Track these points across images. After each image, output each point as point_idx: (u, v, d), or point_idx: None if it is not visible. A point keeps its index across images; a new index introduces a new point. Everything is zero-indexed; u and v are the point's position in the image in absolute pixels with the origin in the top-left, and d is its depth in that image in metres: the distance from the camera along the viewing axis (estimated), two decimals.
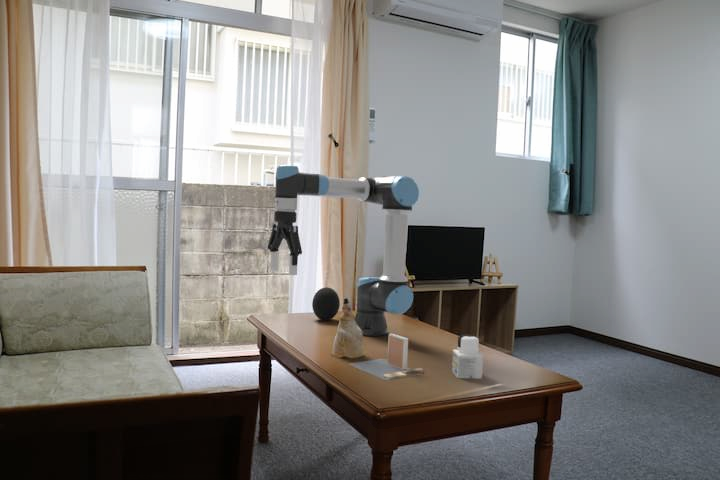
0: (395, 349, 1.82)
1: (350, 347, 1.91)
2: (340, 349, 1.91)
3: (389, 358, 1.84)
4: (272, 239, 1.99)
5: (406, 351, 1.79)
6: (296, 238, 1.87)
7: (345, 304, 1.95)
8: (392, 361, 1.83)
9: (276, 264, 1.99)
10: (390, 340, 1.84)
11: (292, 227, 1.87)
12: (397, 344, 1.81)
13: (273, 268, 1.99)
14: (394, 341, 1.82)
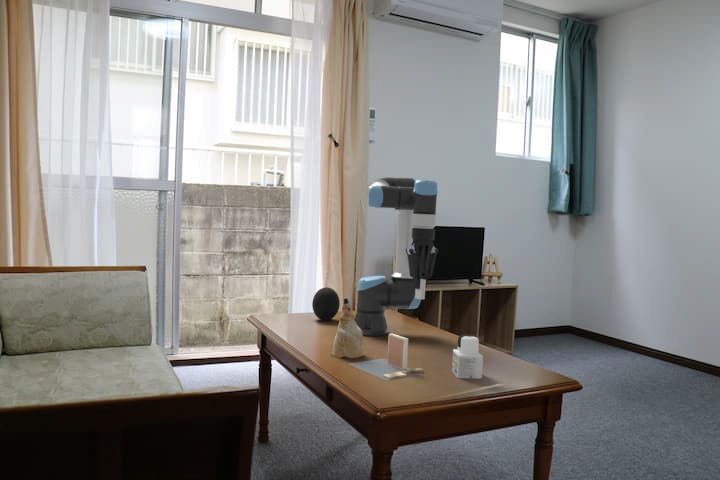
0: (395, 349, 1.82)
1: (350, 347, 1.91)
2: (340, 349, 1.91)
3: (389, 358, 1.84)
4: None
5: (406, 351, 1.79)
6: (410, 262, 1.83)
7: (345, 304, 1.95)
8: (392, 361, 1.83)
9: None
10: (390, 340, 1.84)
11: (406, 250, 1.83)
12: (397, 344, 1.81)
13: None
14: (394, 341, 1.82)
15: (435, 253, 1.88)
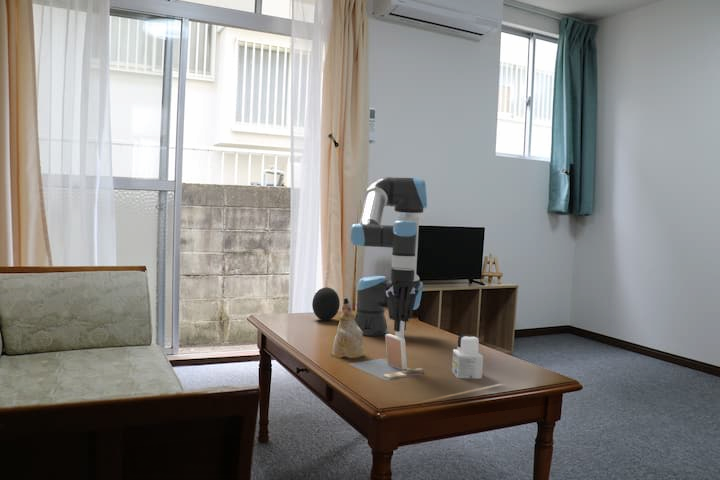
0: (393, 349, 1.81)
1: (350, 347, 1.91)
2: (340, 349, 1.91)
3: (388, 358, 1.84)
4: None
5: (404, 351, 1.79)
6: (389, 304, 1.79)
7: (345, 304, 1.95)
8: (392, 361, 1.83)
9: None
10: (387, 341, 1.83)
11: (385, 293, 1.79)
12: (394, 345, 1.80)
13: None
14: (391, 342, 1.82)
15: (415, 294, 1.84)
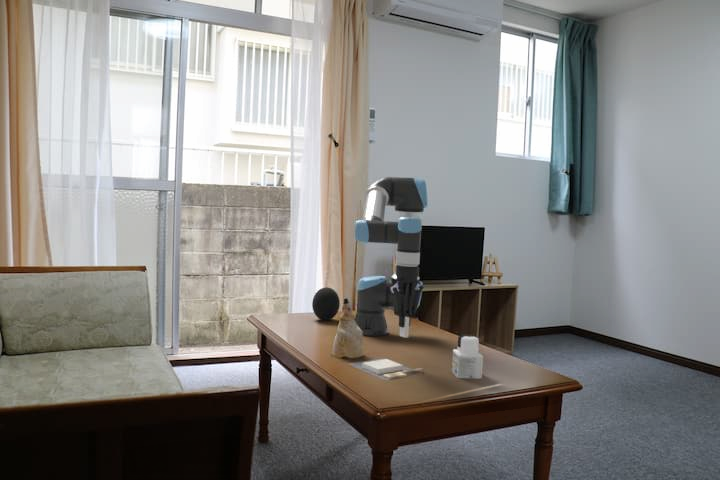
0: None
1: (350, 347, 1.91)
2: (340, 349, 1.91)
3: None
4: None
5: (388, 369, 1.75)
6: (394, 300, 1.80)
7: (345, 304, 1.95)
8: None
9: None
10: None
11: (390, 289, 1.80)
12: None
13: None
14: None
15: (419, 290, 1.85)
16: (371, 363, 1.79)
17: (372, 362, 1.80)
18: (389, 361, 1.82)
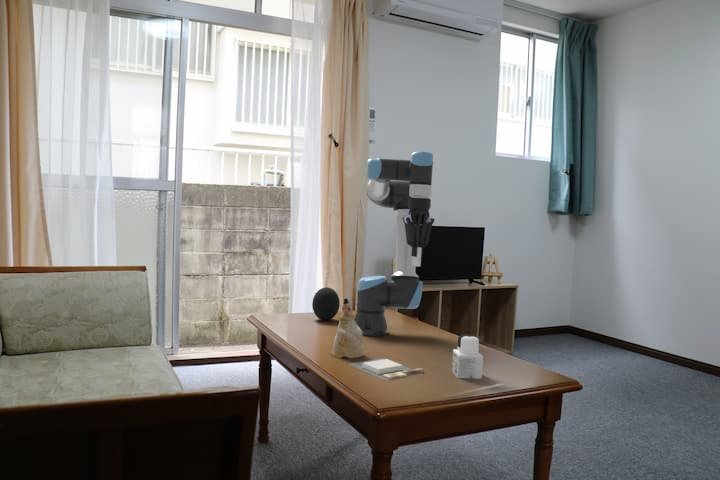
0: None
1: (350, 347, 1.91)
2: (340, 349, 1.91)
3: None
4: (423, 232, 1.96)
5: (388, 369, 1.75)
6: (407, 230, 1.90)
7: (345, 304, 1.95)
8: None
9: None
10: None
11: (403, 219, 1.90)
12: None
13: None
14: None
15: (431, 222, 1.95)
16: (371, 363, 1.79)
17: (372, 362, 1.80)
18: (389, 361, 1.82)
